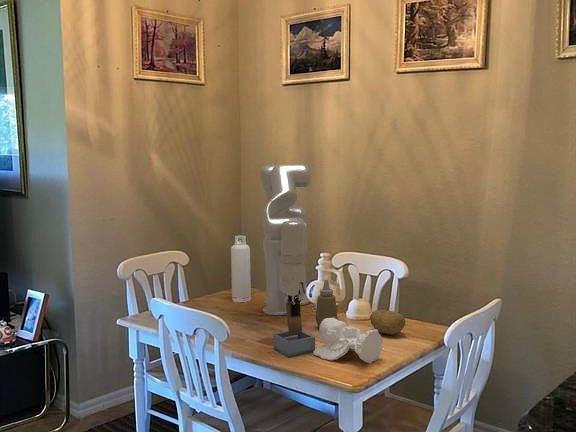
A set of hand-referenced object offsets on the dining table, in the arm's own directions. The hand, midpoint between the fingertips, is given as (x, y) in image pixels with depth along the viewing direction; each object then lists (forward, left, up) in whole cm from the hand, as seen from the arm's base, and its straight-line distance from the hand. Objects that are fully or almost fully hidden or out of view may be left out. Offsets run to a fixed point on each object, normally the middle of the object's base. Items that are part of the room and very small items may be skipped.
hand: (293, 314), depth 196 cm
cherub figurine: (+14, +11, -12) cm, 21 cm away
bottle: (-67, +13, -12) cm, 70 cm away
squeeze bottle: (-14, +22, -12) cm, 29 cm away
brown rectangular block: (0, +1, -6) cm, 6 cm away
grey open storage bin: (0, 0, -12) cm, 12 cm away
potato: (+2, +37, -12) cm, 39 cm away
